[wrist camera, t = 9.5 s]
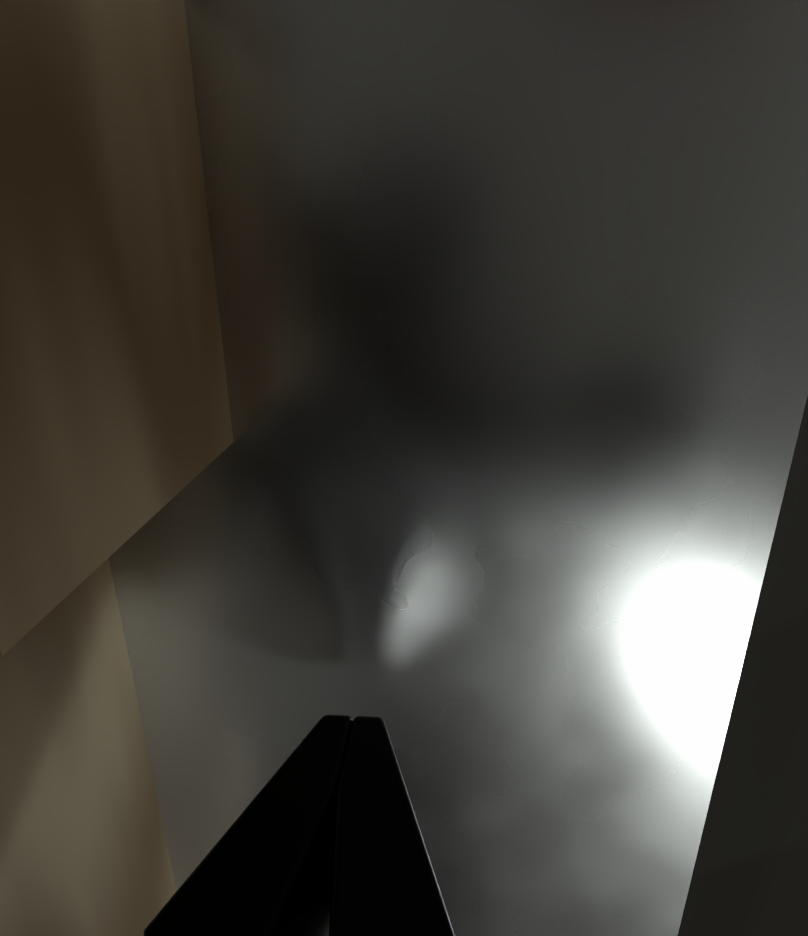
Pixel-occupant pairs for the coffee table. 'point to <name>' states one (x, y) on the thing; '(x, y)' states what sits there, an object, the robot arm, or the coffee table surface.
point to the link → (92, 434)
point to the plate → (487, 428)
